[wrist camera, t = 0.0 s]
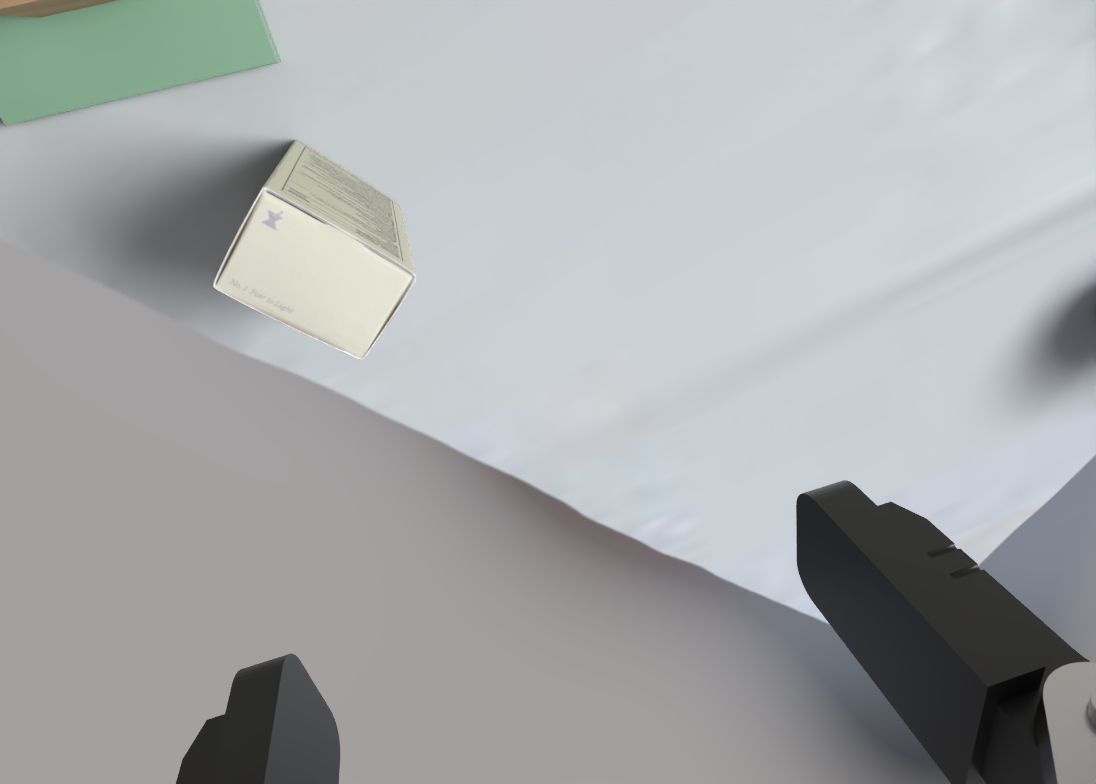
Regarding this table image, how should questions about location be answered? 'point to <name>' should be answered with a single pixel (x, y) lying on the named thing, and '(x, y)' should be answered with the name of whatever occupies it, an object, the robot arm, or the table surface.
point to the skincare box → (321, 254)
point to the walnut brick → (44, 7)
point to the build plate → (124, 52)
